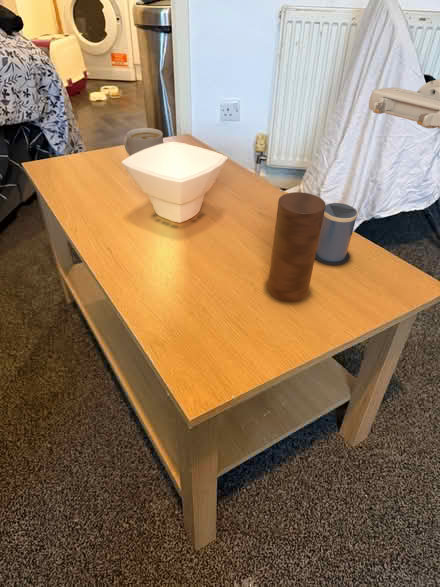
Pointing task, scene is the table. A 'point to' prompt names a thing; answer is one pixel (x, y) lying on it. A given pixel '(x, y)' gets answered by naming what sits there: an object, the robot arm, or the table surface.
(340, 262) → the coaster
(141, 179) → the bowl
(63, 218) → the table surface
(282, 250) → the stand
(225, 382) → the table surface
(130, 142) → the coffee mug
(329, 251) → the tumbler
